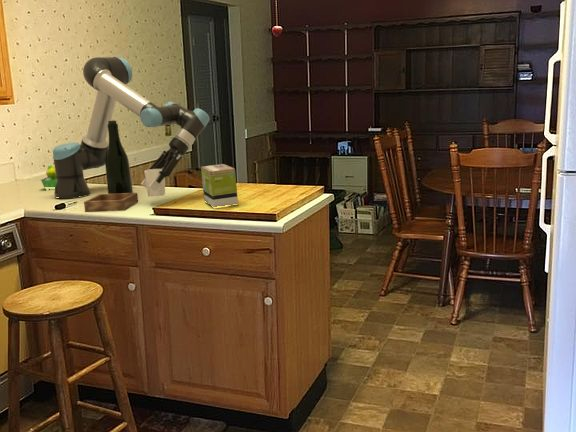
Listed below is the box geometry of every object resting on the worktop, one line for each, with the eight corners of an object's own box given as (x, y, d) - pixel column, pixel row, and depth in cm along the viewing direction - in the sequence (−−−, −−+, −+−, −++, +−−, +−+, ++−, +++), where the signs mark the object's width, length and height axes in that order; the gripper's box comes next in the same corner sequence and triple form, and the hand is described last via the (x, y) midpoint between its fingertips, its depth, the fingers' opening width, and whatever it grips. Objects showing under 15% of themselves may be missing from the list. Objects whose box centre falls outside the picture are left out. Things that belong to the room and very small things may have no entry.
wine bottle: (115, 194, 281) (106, 120, 274) (137, 193, 279) (128, 119, 272) (104, 199, 271) (94, 122, 264) (127, 198, 269) (118, 121, 262)
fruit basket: (43, 191, 303) (39, 168, 300) (41, 189, 310) (38, 166, 308) (67, 188, 307) (64, 165, 305) (66, 186, 315) (63, 163, 312)
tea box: (203, 203, 250) (200, 166, 246) (227, 199, 253) (224, 163, 250) (213, 209, 236) (210, 170, 233) (239, 206, 239) (236, 167, 236)
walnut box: (85, 212, 246) (83, 201, 245) (101, 203, 261) (99, 194, 260) (124, 210, 244) (123, 200, 243) (138, 202, 259) (137, 192, 259)
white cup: (148, 193, 255) (145, 169, 253) (167, 192, 256) (165, 168, 253) (145, 197, 248) (142, 172, 245) (165, 196, 248) (163, 171, 246)
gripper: (199, 150, 248) (164, 196, 243) (177, 146, 264) (144, 189, 259) (185, 138, 244) (150, 184, 239) (164, 135, 260) (131, 178, 255)
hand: (147, 187), depth 249 cm, fingers closed on white cup, 8 cm apart
